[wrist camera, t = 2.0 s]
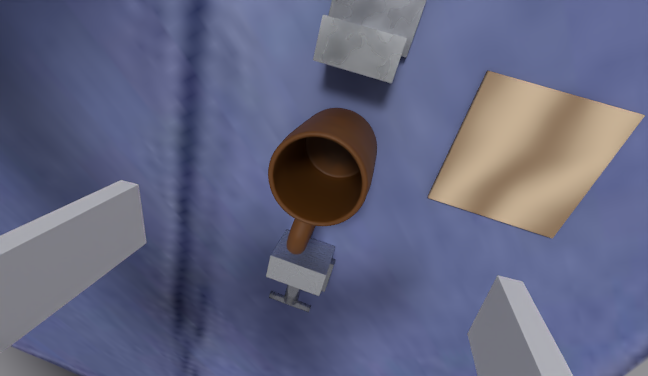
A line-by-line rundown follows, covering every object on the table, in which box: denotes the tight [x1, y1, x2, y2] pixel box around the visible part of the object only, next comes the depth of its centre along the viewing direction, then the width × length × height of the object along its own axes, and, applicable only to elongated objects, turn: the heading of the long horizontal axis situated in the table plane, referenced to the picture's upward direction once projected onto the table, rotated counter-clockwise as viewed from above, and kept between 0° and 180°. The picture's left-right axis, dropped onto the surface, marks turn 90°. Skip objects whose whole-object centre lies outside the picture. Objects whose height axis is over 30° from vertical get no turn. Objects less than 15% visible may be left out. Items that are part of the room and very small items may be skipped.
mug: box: [268, 108, 377, 255], centre depth 27 cm, size 12×8×9 cm, turn 162°
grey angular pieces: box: [266, 0, 426, 312], centre depth 29 cm, size 7×33×5 cm, turn 166°
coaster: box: [428, 71, 645, 238], centre depth 26 cm, size 12×12×1 cm
